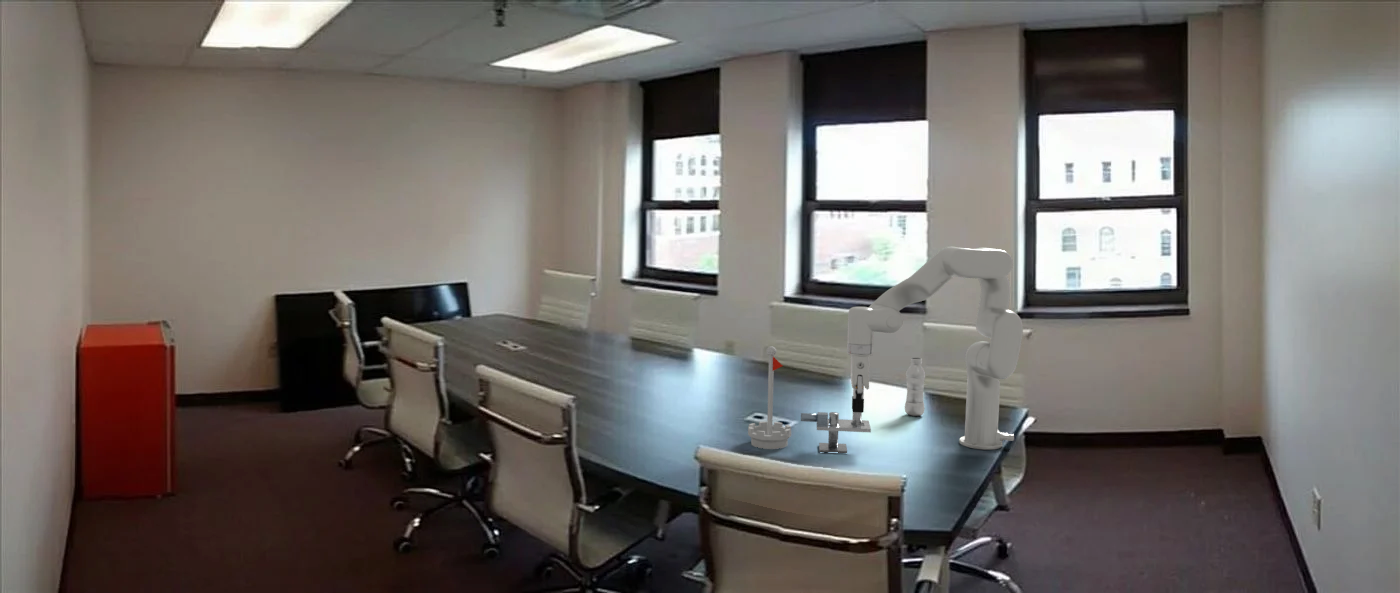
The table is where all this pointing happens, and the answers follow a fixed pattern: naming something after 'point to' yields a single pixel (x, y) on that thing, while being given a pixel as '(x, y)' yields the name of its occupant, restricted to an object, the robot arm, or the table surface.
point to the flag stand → (770, 417)
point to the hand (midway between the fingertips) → (857, 410)
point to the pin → (856, 417)
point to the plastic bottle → (915, 388)
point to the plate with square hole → (834, 429)
